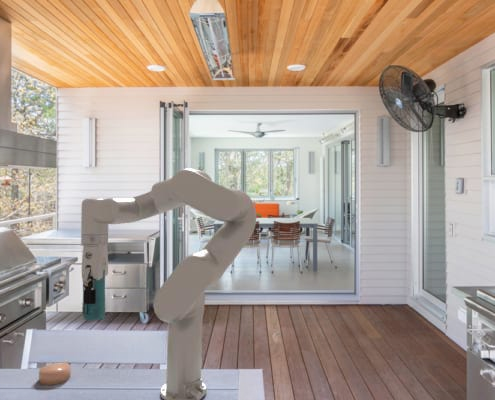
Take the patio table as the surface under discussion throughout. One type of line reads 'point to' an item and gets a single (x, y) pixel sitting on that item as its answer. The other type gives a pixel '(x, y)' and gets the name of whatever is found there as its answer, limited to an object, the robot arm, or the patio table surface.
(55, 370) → the tan rounded flat piece
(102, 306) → the beverage bottle
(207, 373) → the patio table surface
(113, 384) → the patio table surface
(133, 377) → the patio table surface
